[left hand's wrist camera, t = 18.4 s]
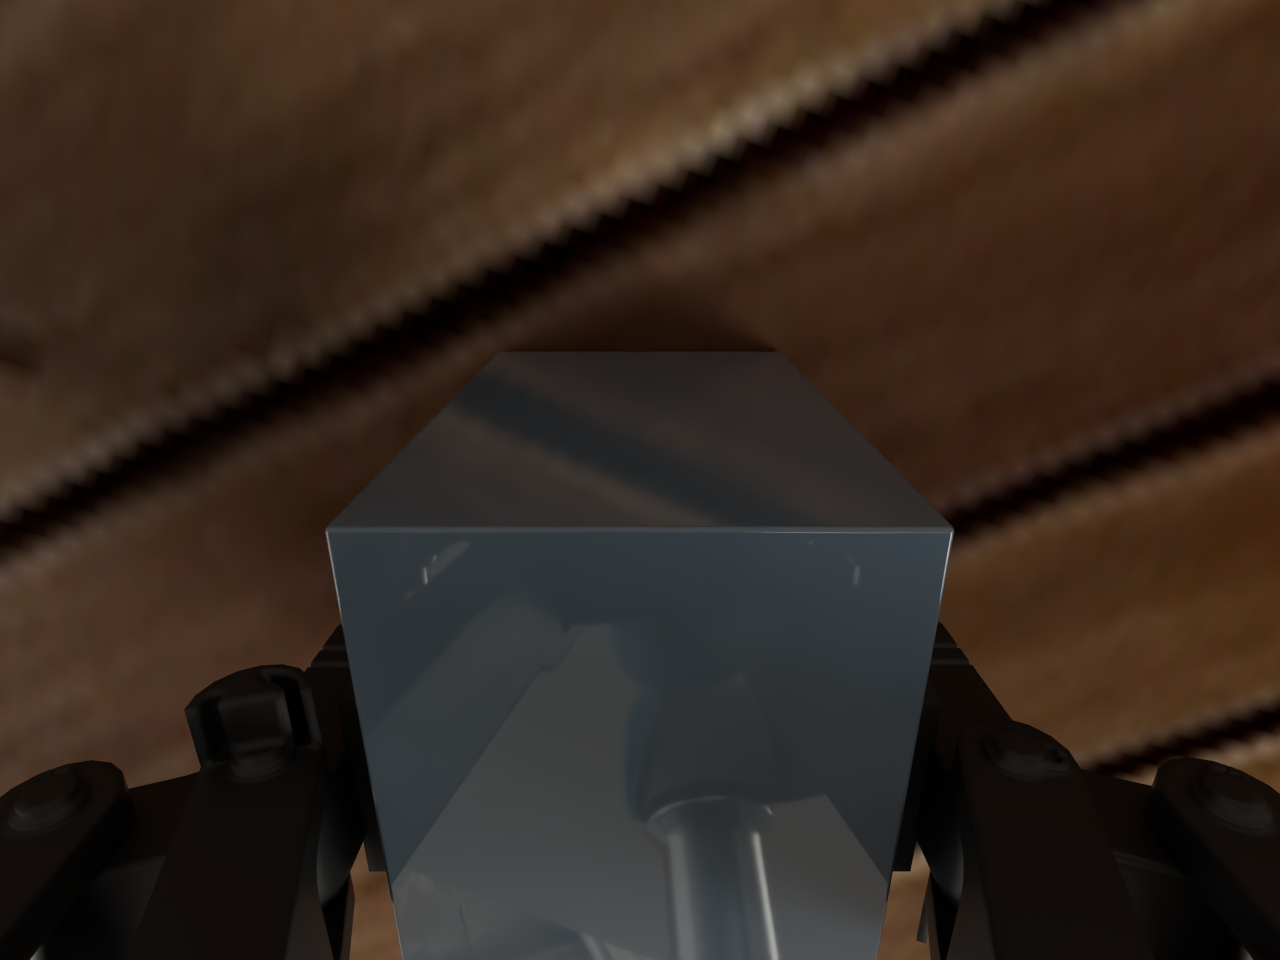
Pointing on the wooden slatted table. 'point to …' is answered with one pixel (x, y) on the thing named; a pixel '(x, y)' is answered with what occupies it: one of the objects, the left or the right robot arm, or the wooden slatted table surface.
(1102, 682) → the wooden slatted table surface
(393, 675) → the dark grey boxy piece
